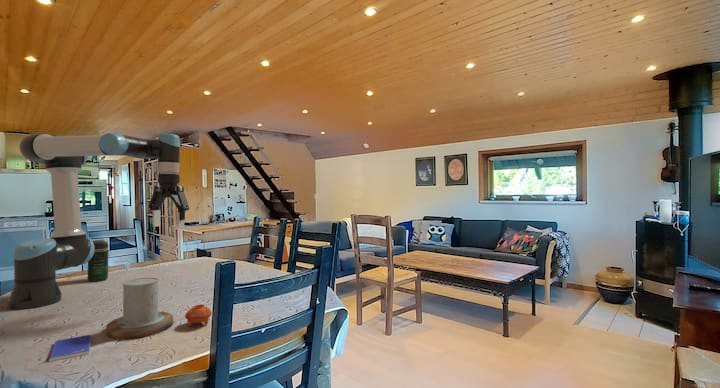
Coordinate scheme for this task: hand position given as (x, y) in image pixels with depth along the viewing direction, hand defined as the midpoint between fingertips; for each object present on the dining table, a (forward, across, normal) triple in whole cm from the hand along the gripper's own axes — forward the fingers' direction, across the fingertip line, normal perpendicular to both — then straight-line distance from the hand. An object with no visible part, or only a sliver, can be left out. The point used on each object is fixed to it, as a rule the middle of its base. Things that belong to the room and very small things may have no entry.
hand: (168, 227), depth 142 cm
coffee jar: (+29, +56, -6) cm, 63 cm away
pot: (+29, -32, +13) cm, 45 cm away
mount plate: (+28, -18, +23) cm, 41 cm away
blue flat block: (+29, -16, +41) cm, 53 cm away
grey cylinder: (+26, -18, +23) cm, 39 cm away
